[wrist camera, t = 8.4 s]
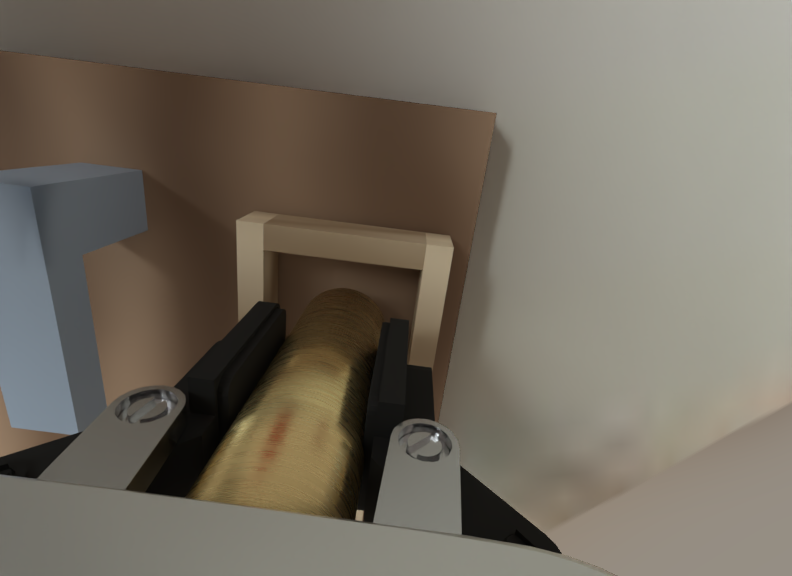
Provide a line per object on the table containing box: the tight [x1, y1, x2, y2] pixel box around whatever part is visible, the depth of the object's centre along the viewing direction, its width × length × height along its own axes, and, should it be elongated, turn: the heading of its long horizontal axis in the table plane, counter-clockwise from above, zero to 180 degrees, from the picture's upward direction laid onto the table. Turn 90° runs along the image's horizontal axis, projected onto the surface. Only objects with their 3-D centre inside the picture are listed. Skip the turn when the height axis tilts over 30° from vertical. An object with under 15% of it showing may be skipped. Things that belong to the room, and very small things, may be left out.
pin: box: [185, 288, 385, 520], centre depth 10 cm, size 3×3×9 cm
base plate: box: [0, 51, 496, 519], centre depth 17 cm, size 19×22×2 cm
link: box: [236, 211, 454, 521], centre depth 16 cm, size 18×6×2 cm, turn 173°
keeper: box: [0, 163, 148, 435], centre depth 13 cm, size 2×7×4 cm, turn 173°
